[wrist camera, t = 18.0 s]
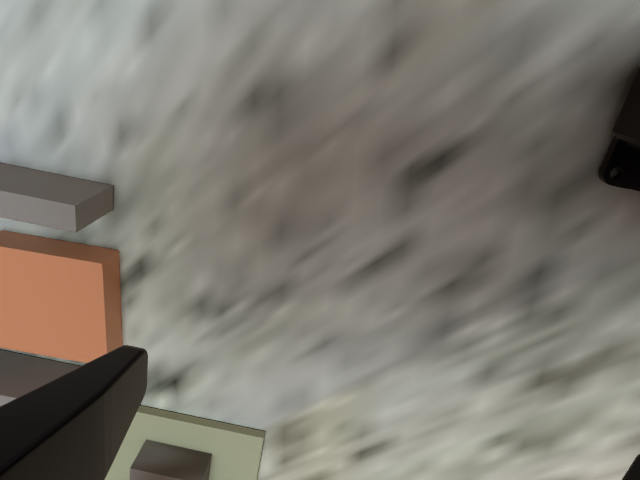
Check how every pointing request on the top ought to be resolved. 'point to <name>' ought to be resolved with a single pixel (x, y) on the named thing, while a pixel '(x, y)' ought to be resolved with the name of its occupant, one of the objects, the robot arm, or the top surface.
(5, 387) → the bay
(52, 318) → the tile
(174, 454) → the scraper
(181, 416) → the mat
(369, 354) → the top surface
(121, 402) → the robot arm
